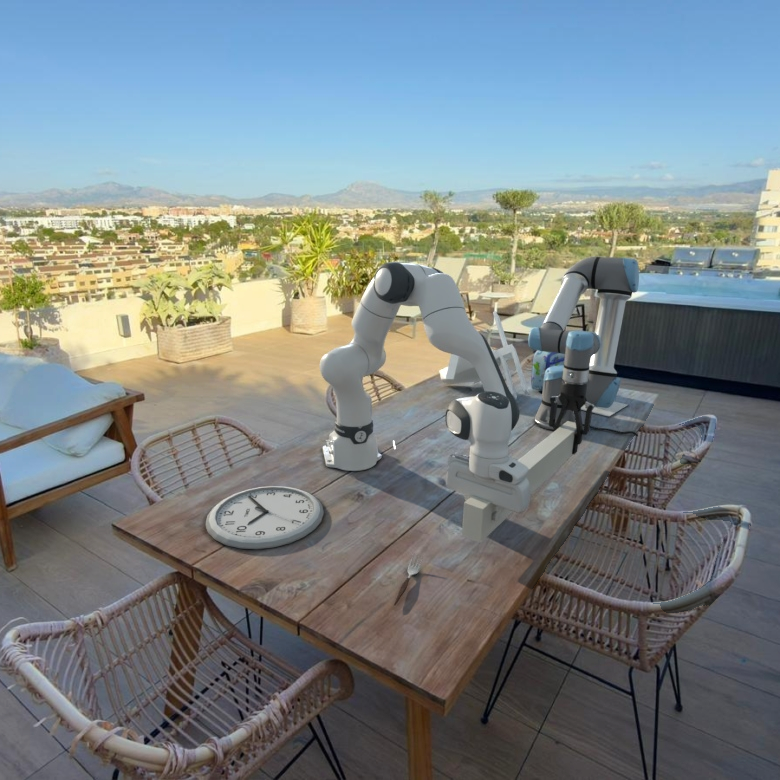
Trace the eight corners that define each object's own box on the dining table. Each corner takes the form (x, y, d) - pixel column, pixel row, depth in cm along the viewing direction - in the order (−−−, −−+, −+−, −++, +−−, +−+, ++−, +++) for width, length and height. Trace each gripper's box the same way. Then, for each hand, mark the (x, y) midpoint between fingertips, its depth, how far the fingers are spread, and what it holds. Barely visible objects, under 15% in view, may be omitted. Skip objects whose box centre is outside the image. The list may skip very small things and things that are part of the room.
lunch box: (547, 396, 238) (552, 351, 232) (526, 391, 246) (531, 347, 239) (574, 385, 256) (579, 343, 250) (554, 380, 263) (559, 340, 257)
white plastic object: (461, 429, 252) (437, 405, 227) (444, 352, 274) (420, 323, 250) (535, 404, 240) (518, 377, 215) (510, 326, 262) (492, 293, 237)
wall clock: (321, 540, 123) (190, 545, 121) (321, 546, 124) (191, 551, 121) (325, 481, 152) (219, 484, 149) (325, 486, 152) (220, 489, 150)
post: (564, 445, 175) (567, 420, 172) (578, 449, 172) (582, 424, 170) (461, 535, 122) (464, 502, 119) (480, 543, 119) (482, 509, 117)
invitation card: (608, 416, 214) (573, 407, 224) (608, 416, 214) (573, 408, 224) (628, 404, 229) (594, 396, 238) (628, 405, 229) (594, 397, 238)
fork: (388, 605, 105) (388, 597, 104) (412, 560, 119) (412, 553, 119) (400, 609, 104) (400, 600, 104) (423, 563, 119) (423, 555, 118)
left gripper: (442, 454, 123) (439, 506, 128) (524, 480, 112) (518, 536, 116) (455, 446, 128) (452, 496, 132) (535, 470, 117) (529, 524, 121)
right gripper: (542, 378, 164) (534, 447, 171) (600, 389, 154) (590, 461, 161) (550, 373, 170) (543, 440, 177) (608, 384, 160) (597, 453, 167)
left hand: (483, 515), depth 124 cm, fingers closed on post, 5 cm apart
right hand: (565, 450), depth 169 cm, fingers closed on post, 5 cm apart
